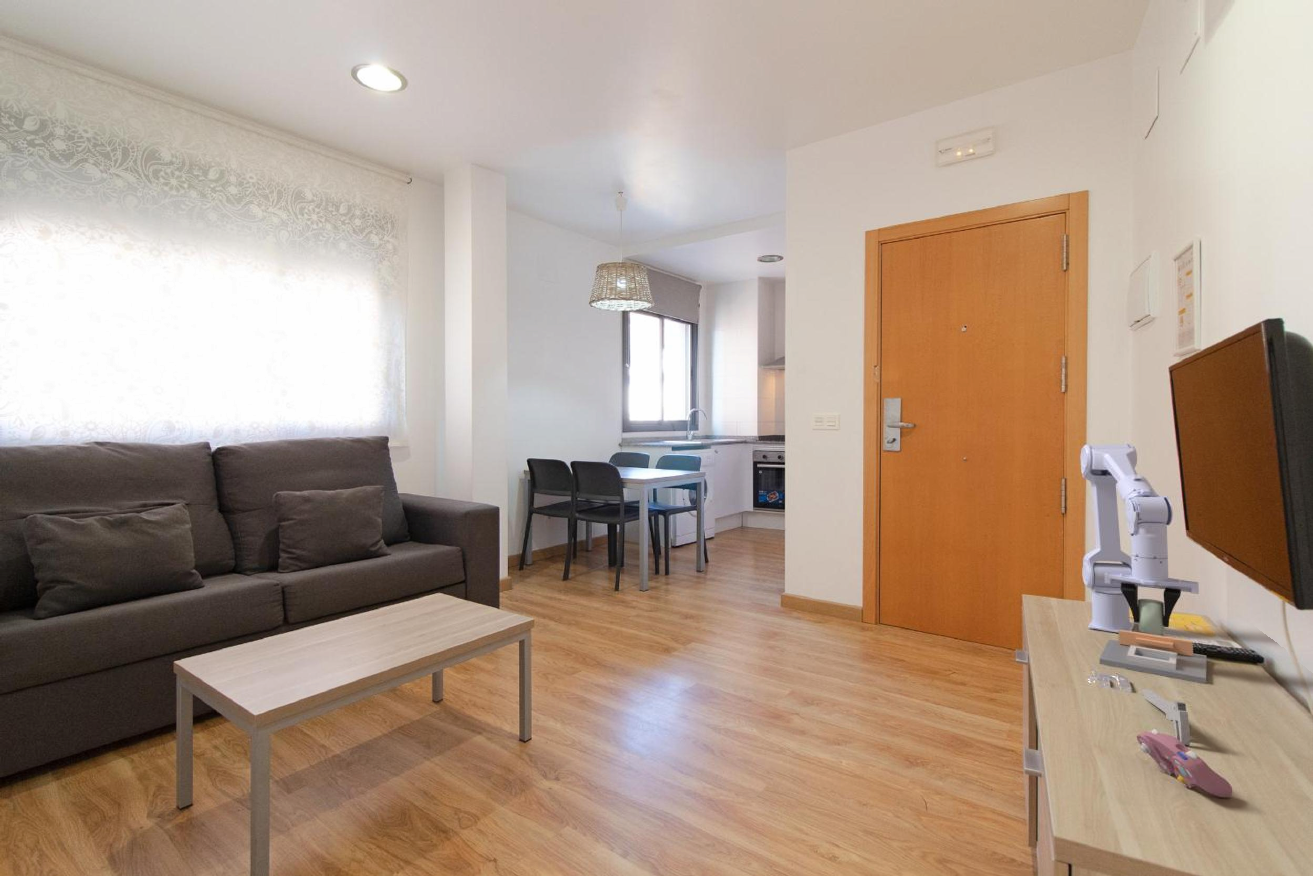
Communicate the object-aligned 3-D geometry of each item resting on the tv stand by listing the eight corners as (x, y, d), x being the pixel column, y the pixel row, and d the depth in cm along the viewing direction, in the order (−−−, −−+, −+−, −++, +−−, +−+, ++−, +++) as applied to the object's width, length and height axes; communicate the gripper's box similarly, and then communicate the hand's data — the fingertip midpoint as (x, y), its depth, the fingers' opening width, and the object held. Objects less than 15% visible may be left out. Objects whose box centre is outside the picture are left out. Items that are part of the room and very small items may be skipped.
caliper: (1190, 749, 90) (1189, 707, 90) (1181, 747, 90) (1180, 705, 90) (1147, 695, 108) (1147, 660, 108) (1140, 694, 109) (1139, 659, 109)
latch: (1119, 642, 131) (1119, 629, 131) (1193, 654, 123) (1192, 640, 123) (1118, 645, 129) (1117, 632, 129) (1192, 657, 121) (1192, 644, 121)
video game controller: (1147, 771, 87) (1123, 728, 87) (1175, 756, 87) (1152, 713, 87) (1208, 814, 77) (1182, 765, 77) (1240, 797, 77) (1214, 748, 77)
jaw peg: (1139, 626, 124) (1138, 597, 124) (1164, 630, 121) (1163, 600, 121) (1138, 632, 121) (1137, 602, 121) (1164, 635, 118) (1163, 605, 118)
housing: (1109, 644, 133) (1108, 634, 134) (1206, 660, 123) (1206, 649, 123) (1099, 663, 122) (1099, 653, 122) (1206, 683, 112) (1205, 672, 112)
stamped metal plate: (1131, 695, 109) (1131, 687, 109) (1084, 688, 113) (1084, 680, 113) (1126, 680, 116) (1125, 672, 116) (1082, 673, 119) (1081, 666, 119)
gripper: (1102, 555, 123) (1104, 621, 123) (1197, 563, 113) (1199, 636, 113) (1106, 550, 128) (1108, 613, 128) (1197, 557, 118) (1199, 626, 118)
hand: (1151, 623), depth 121 cm, fingers closed on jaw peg, 4 cm apart
